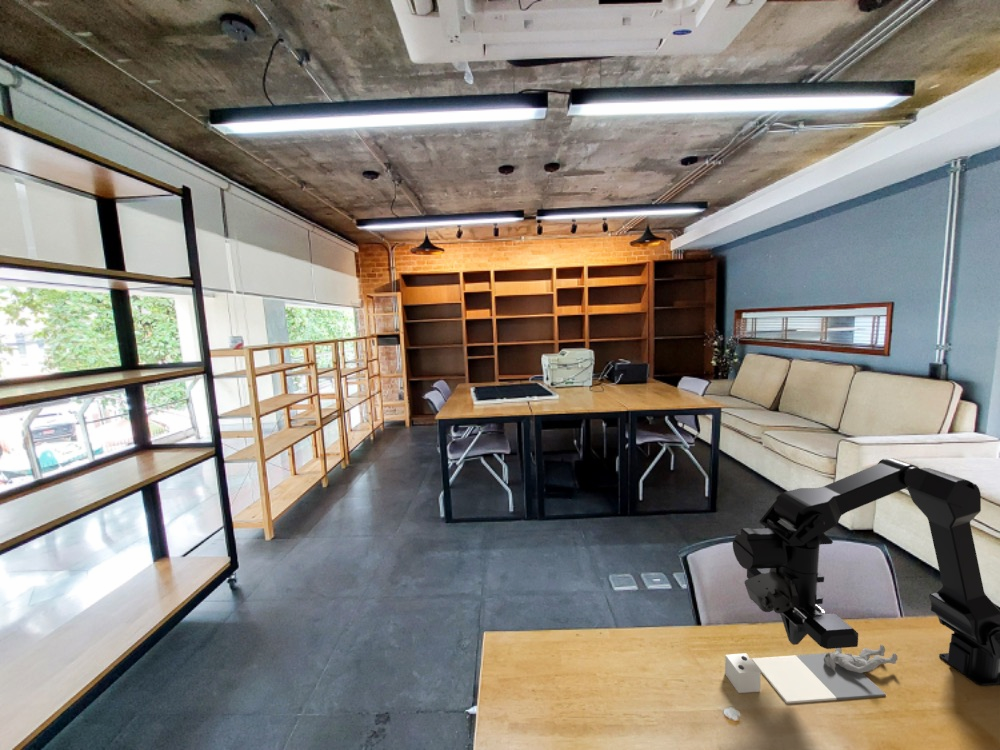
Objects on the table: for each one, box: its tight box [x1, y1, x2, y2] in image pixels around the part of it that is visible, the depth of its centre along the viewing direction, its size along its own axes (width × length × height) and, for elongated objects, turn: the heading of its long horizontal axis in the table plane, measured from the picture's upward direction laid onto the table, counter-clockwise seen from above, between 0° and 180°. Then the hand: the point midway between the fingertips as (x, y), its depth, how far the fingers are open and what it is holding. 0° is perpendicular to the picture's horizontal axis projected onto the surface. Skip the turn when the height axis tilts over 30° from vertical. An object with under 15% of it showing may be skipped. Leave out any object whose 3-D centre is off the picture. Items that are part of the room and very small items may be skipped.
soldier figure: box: [824, 644, 898, 674], centre depth 74 cm, size 8×5×12 cm
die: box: [724, 652, 762, 694], centre depth 72 cm, size 4×4×4 cm
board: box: [751, 652, 887, 704], centre depth 73 cm, size 18×9×1 cm, turn 92°
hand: (793, 643), depth 72 cm, fingers closed
